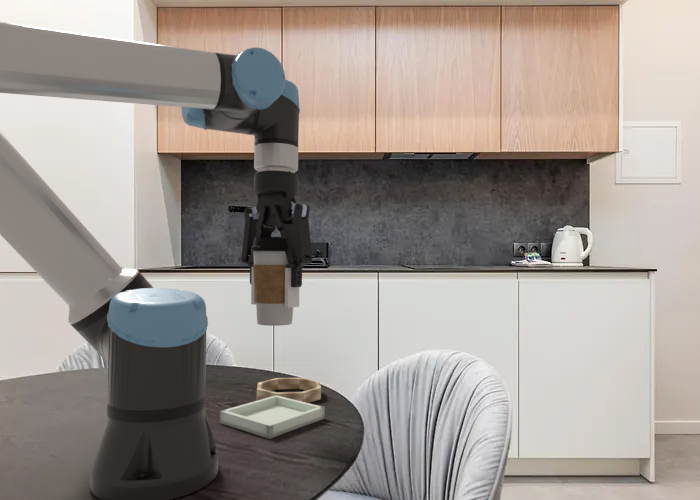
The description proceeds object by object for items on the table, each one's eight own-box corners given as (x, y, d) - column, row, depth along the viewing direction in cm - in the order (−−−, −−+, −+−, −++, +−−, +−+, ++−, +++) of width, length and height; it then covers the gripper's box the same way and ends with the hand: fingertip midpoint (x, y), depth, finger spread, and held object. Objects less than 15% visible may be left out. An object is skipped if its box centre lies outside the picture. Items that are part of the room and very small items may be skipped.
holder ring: (289, 409, 95) (289, 397, 95) (243, 397, 103) (244, 386, 103) (332, 395, 105) (333, 384, 105) (288, 385, 113) (288, 375, 113)
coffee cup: (303, 321, 92) (304, 237, 92) (293, 327, 84) (294, 235, 84) (257, 320, 93) (258, 237, 93) (243, 326, 84) (244, 234, 85)
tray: (269, 439, 79) (269, 425, 79) (219, 423, 86) (220, 411, 86) (324, 418, 89) (324, 407, 89) (276, 405, 97) (276, 395, 97)
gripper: (335, 169, 85) (334, 307, 85) (253, 180, 98) (251, 300, 97) (305, 163, 79) (303, 311, 79) (221, 175, 92) (219, 303, 91)
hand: (274, 305), depth 88 cm, fingers closed on coffee cup, 7 cm apart
